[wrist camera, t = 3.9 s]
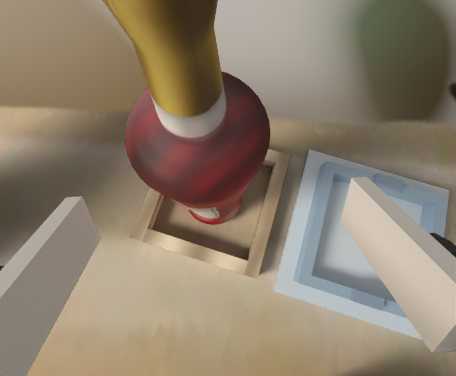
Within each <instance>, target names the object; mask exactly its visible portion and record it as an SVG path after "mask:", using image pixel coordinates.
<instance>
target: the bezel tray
mask: <svg viewBox="0 0 456 376" xmlns="http://www.w3.org/2000/svg"><path fill="white" fill-rule="evenodd" d="M355 177H368V178H369V179H370V180H371V181H372V182H373V183H374V184H375V185H376V186H377V187H378V188H380V189H381V190H382V191H383V192H384V193H385V194H386V195H387V196H388V197H389V198H391V199H392V200H393V201H394V202H395V203H396V204H397V205H398V206H399V207H400V208H402V209H403V210H404V211H405V212H406V213H407V214H408V215H409V216H410V217H411V218H413V219H414V220H415V221H416V222H417V223H418V224H419V225H420V226H421V227H422V228H424V229H425V230H426V231H427V232H428V233H436V234H438V235H440V236H441V237H443V238H444V234H445V225H446V216H447V207H448V199H449V190H447V189H443V188H440V187H436V186H433V185H430V184H426V183H423V182H419V181H416V180H413V179H409V178H406V177H402V176H399V175H395V174H392V173H389V172H385V171H382V170H378V169H375V168H372V167H368V166H365V165H361V164H358V163H355V162H351V161H348V160H344V159H341V158H337V157H334V156H331V155H327V154H324V153H320V152H317V151H314V150H309V151H308V154H307V158H306V162H305V166H304V170H303V173H302V177H301V181H300V185H299V189H298V193H297V197H296V201H295V205H294V209H293V213H292V217H291V220H290V224H289V228H288V232H287V236H286V240H285V244H284V248H283V252H282V256H281V260H280V264H279V268H278V271H277V275H276V279H275V283H274V287H273V291H275V292H278V293H281V294H284V295H287V296H290V297H293V298H296V299H299V300H302V301H305V302H308V303H311V304H314V305H317V306H320V307H323V308H326V309H329V310H332V311H335V312H338V313H341V314H345V315H348V316H351V317H354V318H357V319H360V320H363V321H366V322H369V323H372V324H375V325H378V326H381V327H384V328H387V329H390V330H393V331H396V332H399V333H402V334H405V335H408V336H411V337H414V338H418V339H421V340H423V339H422V338H421V336H420V335H419V334H418V332H417V331H416V329H415V328H414V326H413V325H412V324H411V322H410V321H409V319H408V318H407V316H406V315H405V313H404V312H403V311H402V309H401V308H400V306H399V305H398V303H397V302H396V300H395V299H394V298H393V296H392V295H391V293H390V292H389V290H388V289H387V288H386V286H385V285H384V283H383V282H382V280H381V279H380V277H379V276H378V275H377V273H376V272H375V270H374V269H373V267H372V266H371V265H370V263H369V262H368V260H367V259H366V257H365V256H364V254H363V253H362V252H361V250H360V249H359V247H358V246H357V244H356V243H355V241H354V240H353V239H352V237H351V236H350V234H349V233H348V231H347V230H346V229H345V227H344V226H343V224H342V223H341V221H340V220H341V216H342V212H343V208H344V205H345V201H346V197H347V193H348V189H349V185H350V181H351V178H355Z"/></svg>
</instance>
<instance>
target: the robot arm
mask: <svg viewBox="0 0 456 376" xmlns="http://www.w3.org/2000/svg"><path fill="white" fill-rule="evenodd" d="M340 221H341V223H342V224H343V226H344V227H345V229H346V230H347V231H348V233H349V234H350V236H351V237H352V239H353V240H354V241H355V243H356V244H357V246H358V247H359V249H360V250H361V252H362V253H363V254H364V256H365V257H366V259H367V260H368V262H369V263H370V265H371V266H372V267H373V269H374V270H375V272H376V273H377V275H378V276H379V277H380V279H381V280H382V282H383V283H384V285H385V286H386V288H387V289H388V290H389V292H390V293H391V295H392V296H393V298H394V299H395V300H396V302H397V303H398V305H399V306H400V308H401V309H402V311H403V312H404V313H405V315H406V316H407V318H408V319H409V321H410V322H411V324H412V325H413V326H414V328H415V329H416V331H417V332H418V334H419V335H420V336H421V338H422V339H423V341H424V342H425V344H426V345H427V347H428V348H429V349H430V351H431V352H432V353H437V352H449V351H455V350H456V246H455V245H454V244H453V243H452V242H450V241H449V240H447V239H445V238H443V237H441V236H440V235H438V234H436V233H428V232H427V231H426V230H425V229H424V228H422V227H421V226H420V225H419V224H418V223H417V222H416V221H415V220H414V219H413V218H411V217H410V216H409V215H408V214H407V213H406V212H405V211H404V210H403V209H402V208H400V207H399V206H398V205H397V204H396V203H395V202H394V201H393V200H392V199H391V198H389V197H388V196H387V195H386V194H385V193H384V192H383V191H382V190H381V189H380V188H378V187H377V186H376V185H375V184H374V183H373V182H372V181H371V180H370V179H369V178H368V177H355V178H351V181H350V185H349V189H348V193H347V197H346V201H345V205H344V208H343V212H342V216H341V220H340ZM100 239H101V238H100V236H99V234H98V231H97V229H96V227H95V224H94V222H93V220H92V218H91V215H90V213H89V211H88V208H87V206H86V204H85V202H84V199H83V197H82V196H80V197H66V198H65V199H64V200H63V201H62V202H61V204H60V205H59V206H58V207H57V208H56V209H55V210H54V211H53V213H52V214H51V215H50V216H49V217H48V218H47V219H46V220H45V221H44V223H43V224H42V225H41V226H40V227H39V228H38V229H37V230H36V232H35V233H34V234H33V235H32V236H31V237H30V238H29V239H28V240H27V242H26V243H25V244H24V245H23V246H22V247H21V248H20V249H19V251H18V252H17V253H16V254H15V255H14V256H13V257H12V258H11V259H10V261H9V262H8V263H7V264H6V265H5V266H0V376H26V375H27V373H28V371H29V370H30V368H31V366H32V364H33V362H34V360H35V359H36V357H37V355H38V353H39V351H40V349H41V348H42V346H43V344H44V342H45V340H46V338H47V337H48V335H49V333H50V331H51V329H52V327H53V325H54V324H55V322H56V320H57V318H58V316H59V314H60V313H61V311H62V309H63V307H64V305H65V303H66V302H67V300H68V298H69V296H70V294H71V292H72V290H73V289H74V287H75V285H76V283H77V281H78V279H79V278H80V276H81V274H82V272H83V270H84V268H85V267H86V265H87V263H88V261H89V259H90V257H91V256H92V254H93V252H94V250H95V248H96V246H97V244H98V243H99V241H100Z"/></svg>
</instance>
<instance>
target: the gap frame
mask: <svg viewBox="0 0 456 376" xmlns="http://www.w3.org/2000/svg"><path fill="white" fill-rule="evenodd" d="M290 157H291V155H288V154H284V153H281V152H277V151H274V150H271V149H268V151H267V154H266V157H265V160H264V162H263V164H262V165H265V166H268V167H271V168H273V169H272V172H271V176H270V180H269V183H268V187H267V190H266V194H265V197H264V201H263V204H262V208H261V211H260V215H259V218H258V222H257V225H256V229H255V232H254V236H253V239H252V243H251V246H250V250H249V253H248V257H247V260H245V259H242V258H239V257H236V256H233V255H230V254H227V253H224V252H221V251H217V250H214V249H211V248H208V247H205V246H202V245H199V244H196V243H193V242H190V241H187V240H183V239H180V238H177V237H174V236H171V235H168V234H165V233H162V232H159V231H156V230H153V226H154V223H155V221H156V218H157V216H158V213H159V210H160V208H161V205H162V202H163V200H164V197H165V196H164V195H162V194H160V193H159V192H157V191H155V190H154V189H152V188H151V187H149V190H148V192H147V195H146V197H145V200H144V203H143V205H142V208H141V210H140V213H139V215H138V218H137V220H136V223H135V225H134V228H133V230H132V233H131V235H130V238H134V239H137V240H140V241H143V242H146V243H149V244H152V245H155V246H158V247H161V248H164V249H167V250H170V251H173V252H176V253H179V254H182V255H185V256H189V257H192V258H195V259H198V260H201V261H204V262H207V263H210V264H213V265H216V266H219V267H222V268H225V269H228V270H231V271H234V272H237V273H240V274H244V275H247V276H250V277H253V278H256V279H258V275H259V271H260V268H261V264H262V260H263V257H264V253H265V249H266V245H267V242H268V238H269V234H270V231H271V227H272V223H273V220H274V216H275V212H276V209H277V205H278V201H279V197H280V194H281V190H282V186H283V183H284V179H285V175H286V172H287V168H288V164H289V160H290Z"/></svg>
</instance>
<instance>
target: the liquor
mask: <svg viewBox="0 0 456 376" xmlns="http://www.w3.org/2000/svg"><path fill="white" fill-rule="evenodd" d="M103 1H104V3H105V4H106V6H107V7H108V8H109V10H110V11H111V12H112V14H113V15H114V17H115V18H116V20H117V21H118V22H119V24H120V25H121V27H122V28H123V30H124V31H125V32H126V34H127V35H128V37H129V38H130V39H131V41H132V42H133V45H134V48H135V50H136V53H137V56H138V59H139V62H140V65H141V68H142V71H143V74H144V77H145V79H146V82H147V85H148V88H147V89H146V90H144V91H143V92H142V94H141V95H140V97H139V98H138V99H137V100H136V102H135V103H134V105H133V107H132V109H131V111H130V113H129V115H128V119H127V123H126V127H125V144H126V150H127V155H128V157H129V160H130V162H131V164H132V167H133V168H134V170H135V171H136V172H137V174H138V175H139V177H140V178H141V179H142V180H143V181H144V182H145V183H146V184H147V185H148V186H149V187H151V188H152V189H154V190H155V191H157V192H159V193H160V194H162V195H164V196H166V197H167V198H169V199H171V200H173V201H174V202H176V203H178V204H179V205H181V206H183V207H185V208H187V209H188V210H189V211H190V213H191V214H192V215H193V216H194V217H195V218H196V219H197V220H199V221H201V222H203V223H206V224H211V225H215V224H221V223H224V222H226V221H229V220H230V219H231V218H233V217H234V216H235V214H236V213H237V212H238V210H239V209H240V206H241V203H242V195H243V194H244V193H245V191H246V190H247V188H248V187H249V185H250V183H251V181H252V180H253V178H254V177H255V175H256V174H257V172H258V170H259V169H260V167H261V165H262V164H263V162H264V160H265V157H266V154H267V151H268V148H269V141H270V126H269V119H268V116H267V113H266V110H265V108H264V106H263V104H262V102H261V101H260V99H259V97H258V96H257V95H256V94H255V93H254V91H252V89H251V88H250V87H249V86H247V85H246V84H245V83H244V82H242V81H241V80H240V79H238V78H236V77H234V76H232V75H230V74H228V73H225V72H221V68H220V62H219V56H218V50H217V44H216V38H215V32H214V20H215V14H216V8H217V1H218V0H103Z"/></svg>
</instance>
